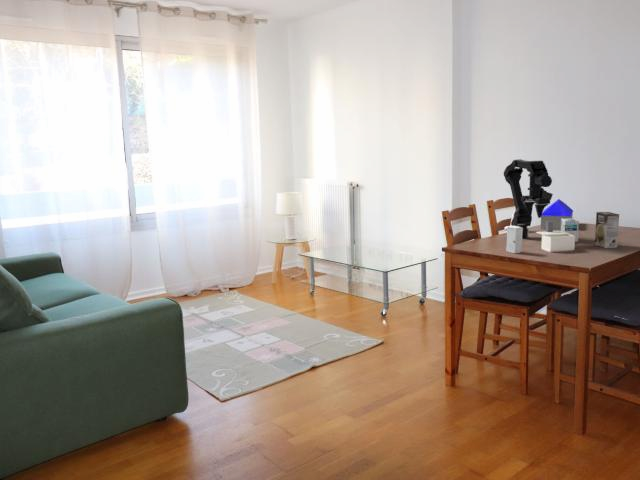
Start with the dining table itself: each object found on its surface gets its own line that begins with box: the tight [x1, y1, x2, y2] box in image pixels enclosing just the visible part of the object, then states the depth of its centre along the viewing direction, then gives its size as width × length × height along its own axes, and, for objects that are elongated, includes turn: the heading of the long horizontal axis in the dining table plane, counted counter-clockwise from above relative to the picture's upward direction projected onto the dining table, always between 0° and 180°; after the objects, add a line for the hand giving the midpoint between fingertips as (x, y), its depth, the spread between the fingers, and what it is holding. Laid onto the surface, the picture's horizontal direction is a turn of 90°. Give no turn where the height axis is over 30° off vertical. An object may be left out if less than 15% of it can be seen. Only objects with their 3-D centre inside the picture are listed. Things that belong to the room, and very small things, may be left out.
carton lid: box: [535, 221, 570, 236], centre depth 273 cm, size 8×12×5 cm
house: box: [540, 198, 574, 231], centre depth 335 cm, size 25×16×16 cm, turn 154°
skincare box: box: [505, 225, 523, 254], centre depth 267 cm, size 6×4×12 cm
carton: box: [540, 234, 576, 253], centre depth 269 cm, size 8×12×7 cm, turn 98°
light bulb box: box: [560, 218, 580, 243], centre depth 291 cm, size 11×7×11 cm, turn 168°
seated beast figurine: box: [504, 210, 515, 231], centre depth 324 cm, size 10×9×12 cm
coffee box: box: [594, 211, 620, 249], centre depth 273 cm, size 9×6×16 cm
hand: (534, 216), depth 289 cm, fingers open, 9 cm apart
